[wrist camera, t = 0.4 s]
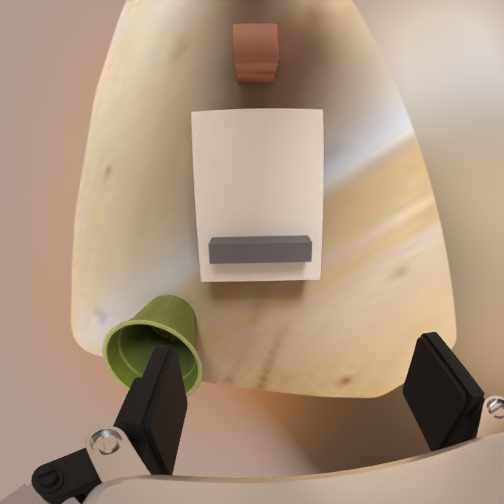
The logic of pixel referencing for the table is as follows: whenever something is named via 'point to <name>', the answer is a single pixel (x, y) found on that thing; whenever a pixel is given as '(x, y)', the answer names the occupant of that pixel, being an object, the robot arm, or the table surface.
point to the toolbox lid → (258, 193)
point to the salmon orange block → (255, 52)
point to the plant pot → (154, 342)
